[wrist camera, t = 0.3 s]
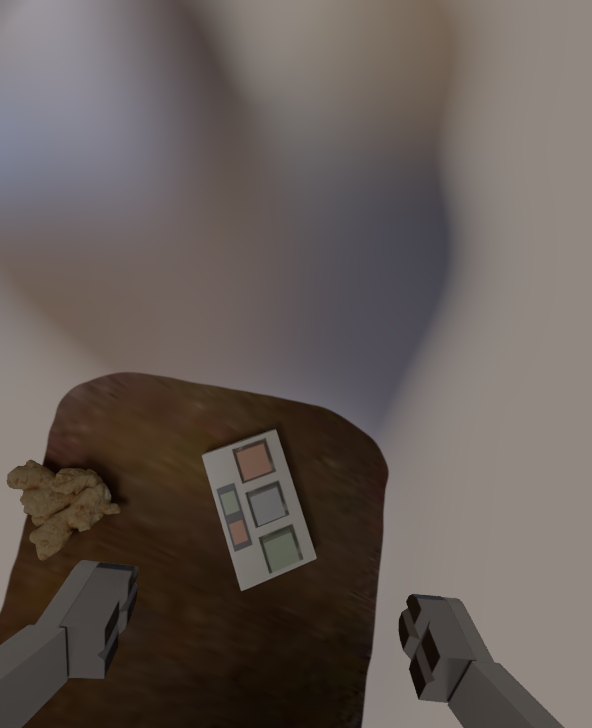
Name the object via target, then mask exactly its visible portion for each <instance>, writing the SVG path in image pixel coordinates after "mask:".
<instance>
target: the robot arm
mask: <svg viewBox="0 0 592 728" xmlns="http://www.w3.org/2000/svg"><path fill="white" fill-rule="evenodd" d="M137 577H138V567H136V566H128V565H120V564H112V563H104V562H96V561H87V560H81V561H80V562H79V563H78V564H77V565H76V566H75V567H74V569H73V570H72V572H71V573H70V575H69V576H68V578H67V579H66V580H65V582H64V583H63V585H62V586H61V588H60V589H59V591H58V592H57V594H56V595H55V597H54V598H53V600H52V601H51V602H50V604H49V605H48V607H47V608H46V610H45V611H44V613H43V614H42V616H41V617H40V619H39V620H38V622H37V623H36V624H35V625H28V626H26V627H25V628H24V629H22V630H21V631H19V632H18V633H17V634H15V635H14V636H12V637H11V638H10V639H8V640H7V641H5V642H4V643H3V644H1V645H0V728H21V727H22V726H23V725H24V724H25V723H26V722H27V721H28V720H29V719H30V718H31V717H32V716H33V715H34V714H35V713H36V712H37V711H38V710H39V709H40V708H41V707H42V706H43V705H44V704H45V703H46V702H47V701H48V700H49V699H50V698H51V697H52V696H53V695H54V694H55V693H56V692H57V691H58V690H59V689H60V688H61V686H62V685H63V684H64V683H65V682H66V681H67V680H68V678H67V677H69V678H99V679H104V678H105V676H106V674H107V671H108V669H109V667H110V664H111V662H112V660H113V657H114V655H115V653H116V650H117V648H118V635H119V633H121V632H122V631H123V630H124V629H125V628H126V627H127V625H128V622H129V620H130V617H131V615H132V612H133V609H134V605H135V602H136V597H137V590H138V586H137V585H136V584H135V582H136V579H137ZM406 603H407V606H408V608H407V609H406V610H404V611H403V612H402V613H401V616H400V618H399V636H400V641H401V644H402V648H403V651H404V652H405V653H406V654H407V655H408V657H409V658H410V659H411V663H410V668H409V670H410V674H411V677H412V680H413V683H414V686H415V690H416V693H417V696H418V699H419V700H426V701H435V702H445V703H448V706H449V708H450V709H451V710H452V712H453V713H454V715H455V716H456V718H457V719H458V720H459V722H460V723H461V725H462V726H463V727H464V728H564V727H563V726H562V725H561V724H560V723H559V722H558V721H557V720H556V719H555V718H554V717H553V716H552V715H551V714H550V713H549V712H548V711H547V710H546V709H545V708H544V707H543V706H542V705H541V704H540V703H539V702H538V701H537V700H536V699H535V698H534V697H533V696H532V695H531V694H530V693H529V692H528V691H527V690H526V689H525V688H524V687H523V686H522V685H521V684H520V683H519V682H518V681H517V680H516V679H515V678H514V677H513V676H512V675H511V674H510V673H509V672H508V671H507V670H506V669H505V668H503V666H502V665H501V664H499V663H495V662H494V661H493V659H492V657H491V655H490V653H489V652H488V649H487V647H486V646H485V644H484V642H483V640H482V638H481V636H480V634H479V632H478V631H477V629H476V627H475V625H474V623H473V621H472V619H471V617H470V616H469V614H468V612H467V610H466V608H465V606H464V604H463V603H462V602H461V601H460V600H459V599H456V598H446V597H441V596H430V595H418V594H412V595H410V596H409V597H408V599H407V601H406Z"/></svg>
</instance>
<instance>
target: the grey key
mask: <svg viewBox="0 0 592 728" xmlns="http://www.w3.org/2000/svg"><path fill="white" fill-rule="evenodd" d="M250 500H251V503H252V507H253V510H254V513H255V517H256V520H257V523H258V526H260V525H262V524H265V523H267V522H270V521H272V520H275V519H277V518H280V517H282V516H285V511H284V508H283V505H282V502H281V499H280V495H279V492H278V489H277V486H276V485H274V486H271V487H269V488H266V489H263V490H261V491H258V492H255V493H253V494H250Z"/></svg>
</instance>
